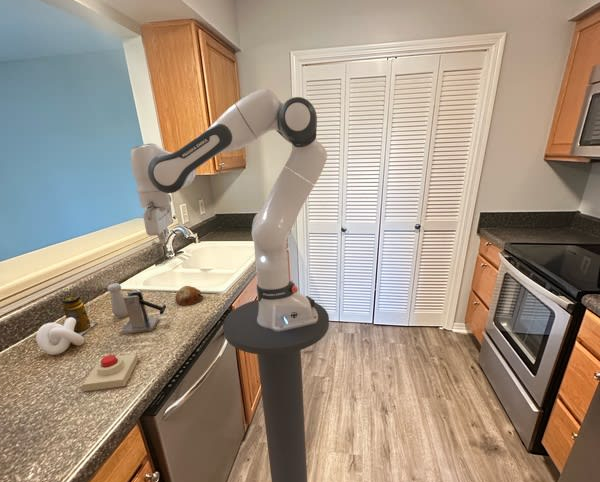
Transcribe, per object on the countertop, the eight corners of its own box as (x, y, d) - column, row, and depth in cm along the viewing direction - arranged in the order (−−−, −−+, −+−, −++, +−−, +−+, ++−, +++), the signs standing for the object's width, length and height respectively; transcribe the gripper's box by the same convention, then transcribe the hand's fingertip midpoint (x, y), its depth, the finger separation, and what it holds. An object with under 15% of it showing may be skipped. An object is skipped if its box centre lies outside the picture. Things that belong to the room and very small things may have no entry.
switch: (165, 309, 117) (167, 304, 116) (161, 316, 112) (164, 310, 112) (130, 297, 113) (133, 291, 112) (126, 303, 108) (128, 297, 108)
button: (119, 359, 91) (117, 354, 90) (114, 366, 88) (112, 361, 87) (105, 360, 91) (103, 355, 90) (100, 368, 87) (98, 363, 87)
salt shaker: (134, 313, 125) (125, 282, 120) (121, 320, 120) (111, 288, 115) (123, 311, 128) (114, 280, 122) (110, 317, 123) (100, 286, 118)
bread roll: (188, 302, 140) (177, 287, 138) (207, 293, 138) (196, 277, 135) (179, 313, 131) (167, 297, 129) (200, 303, 129) (188, 287, 126)
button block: (138, 359, 97) (135, 348, 95) (125, 386, 86) (121, 373, 84) (103, 363, 96) (99, 352, 94) (84, 391, 85) (80, 379, 83)
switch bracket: (158, 319, 119) (151, 288, 114) (153, 330, 112) (144, 297, 107) (130, 322, 118) (121, 291, 113) (122, 334, 111) (112, 300, 106)
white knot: (97, 339, 108) (89, 316, 105) (64, 361, 98) (54, 335, 94) (72, 335, 111) (63, 312, 108) (37, 356, 101) (26, 331, 97)
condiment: (96, 323, 119) (86, 293, 114) (81, 335, 111) (70, 304, 106) (77, 324, 119) (66, 294, 114) (61, 336, 111) (49, 305, 107)
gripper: (157, 204, 93) (166, 250, 99) (171, 195, 112) (179, 234, 118) (134, 205, 93) (145, 252, 98) (152, 196, 111) (161, 235, 117)
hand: (164, 242), depth 108 cm, fingers closed
